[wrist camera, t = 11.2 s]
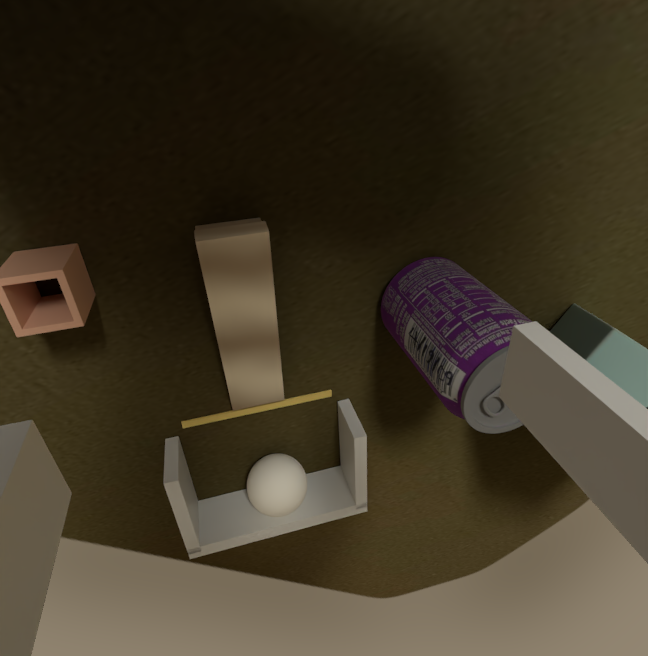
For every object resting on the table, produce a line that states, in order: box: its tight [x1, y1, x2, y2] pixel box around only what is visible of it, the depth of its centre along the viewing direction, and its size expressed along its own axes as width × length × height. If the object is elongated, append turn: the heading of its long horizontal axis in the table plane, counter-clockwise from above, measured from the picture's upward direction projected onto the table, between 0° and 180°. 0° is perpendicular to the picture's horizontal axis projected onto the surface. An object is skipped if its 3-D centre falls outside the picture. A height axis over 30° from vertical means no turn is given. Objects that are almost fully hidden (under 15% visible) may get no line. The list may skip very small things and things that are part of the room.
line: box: [181, 390, 332, 428], centre depth 36 cm, size 1×12×1 cm, turn 93°
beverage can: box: [381, 257, 532, 434], centre depth 30 cm, size 7×7×12 cm
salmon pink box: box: [0, 243, 96, 337], centre depth 26 cm, size 3×3×4 cm
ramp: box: [194, 217, 284, 411], centre depth 30 cm, size 15×4×4 cm, turn 3°
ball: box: [247, 453, 307, 517], centre depth 38 cm, size 5×5×5 cm
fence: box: [163, 399, 367, 559], centre depth 37 cm, size 9×15×4 cm, turn 93°
